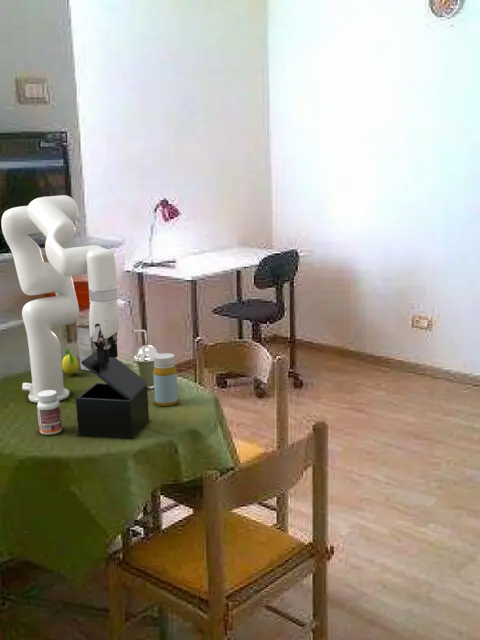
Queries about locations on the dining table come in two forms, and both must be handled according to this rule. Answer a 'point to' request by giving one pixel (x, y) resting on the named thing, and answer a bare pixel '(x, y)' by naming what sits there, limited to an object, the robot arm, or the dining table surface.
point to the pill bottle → (49, 412)
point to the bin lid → (115, 375)
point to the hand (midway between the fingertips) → (107, 359)
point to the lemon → (69, 363)
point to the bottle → (165, 379)
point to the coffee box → (85, 343)
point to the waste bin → (111, 412)
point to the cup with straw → (146, 361)
